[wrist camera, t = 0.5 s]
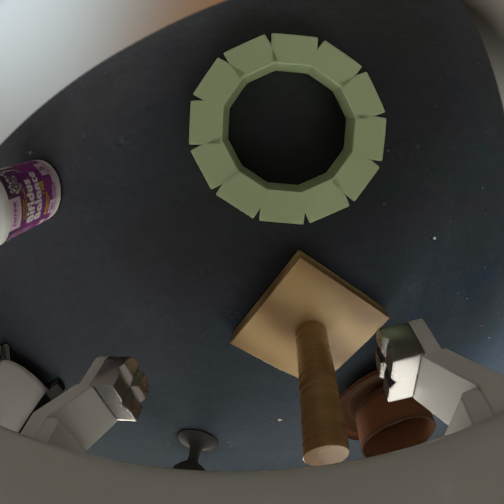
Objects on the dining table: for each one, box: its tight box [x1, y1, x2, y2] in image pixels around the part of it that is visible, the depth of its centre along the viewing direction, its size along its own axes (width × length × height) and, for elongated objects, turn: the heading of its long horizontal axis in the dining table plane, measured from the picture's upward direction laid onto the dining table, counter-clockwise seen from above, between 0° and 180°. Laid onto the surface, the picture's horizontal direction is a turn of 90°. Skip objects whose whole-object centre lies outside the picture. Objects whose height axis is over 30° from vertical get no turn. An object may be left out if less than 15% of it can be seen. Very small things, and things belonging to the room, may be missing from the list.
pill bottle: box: [0, 160, 61, 245], centre depth 17 cm, size 5×5×10 cm
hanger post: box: [230, 250, 389, 466], centre depth 19 cm, size 9×9×12 cm
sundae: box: [173, 429, 218, 471], centre depth 25 cm, size 7×7×15 cm
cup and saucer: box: [340, 370, 436, 458], centre depth 25 cm, size 12×12×6 cm
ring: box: [189, 33, 386, 224], centre depth 18 cm, size 12×12×2 cm
